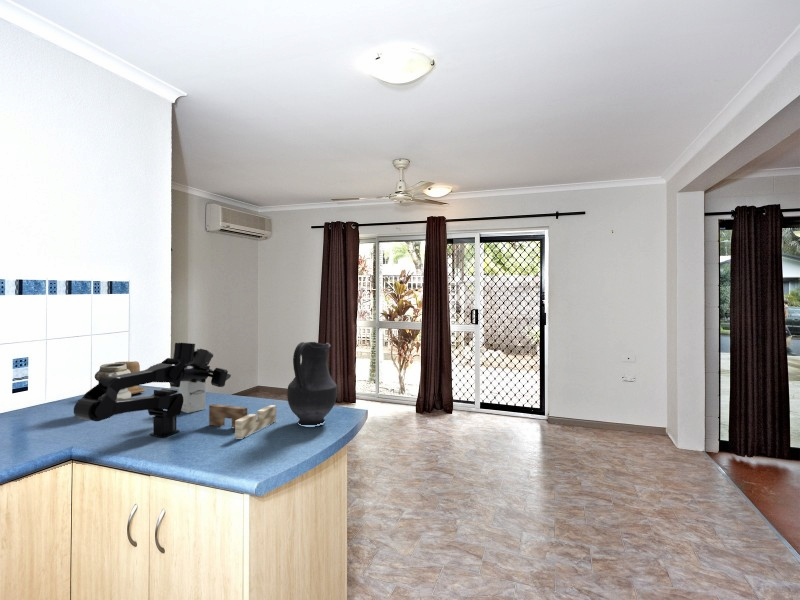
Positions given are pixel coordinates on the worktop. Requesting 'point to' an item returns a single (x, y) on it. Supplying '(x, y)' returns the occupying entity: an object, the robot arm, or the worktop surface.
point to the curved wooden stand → (133, 368)
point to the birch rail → (255, 421)
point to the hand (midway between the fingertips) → (220, 373)
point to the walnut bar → (225, 414)
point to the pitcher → (311, 384)
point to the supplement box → (193, 396)
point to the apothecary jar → (113, 370)
